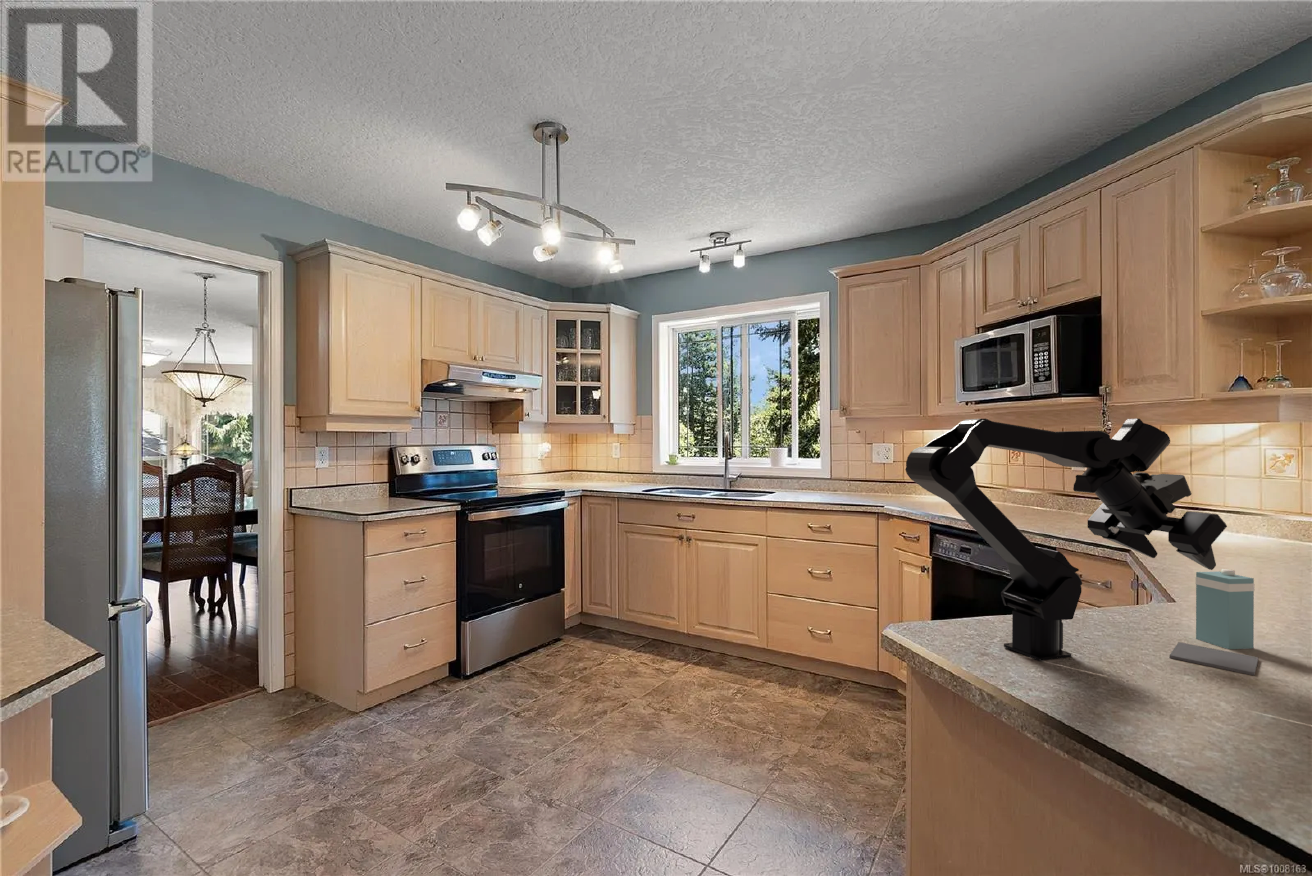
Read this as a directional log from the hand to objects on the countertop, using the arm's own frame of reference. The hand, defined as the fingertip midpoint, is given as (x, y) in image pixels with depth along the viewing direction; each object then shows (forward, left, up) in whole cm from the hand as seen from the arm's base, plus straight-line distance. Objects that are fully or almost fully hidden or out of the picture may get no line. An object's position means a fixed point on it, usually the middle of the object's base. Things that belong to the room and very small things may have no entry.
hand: (1182, 561), depth 95 cm
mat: (-3, -6, -13) cm, 15 cm away
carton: (+7, -1, -13) cm, 15 cm away
